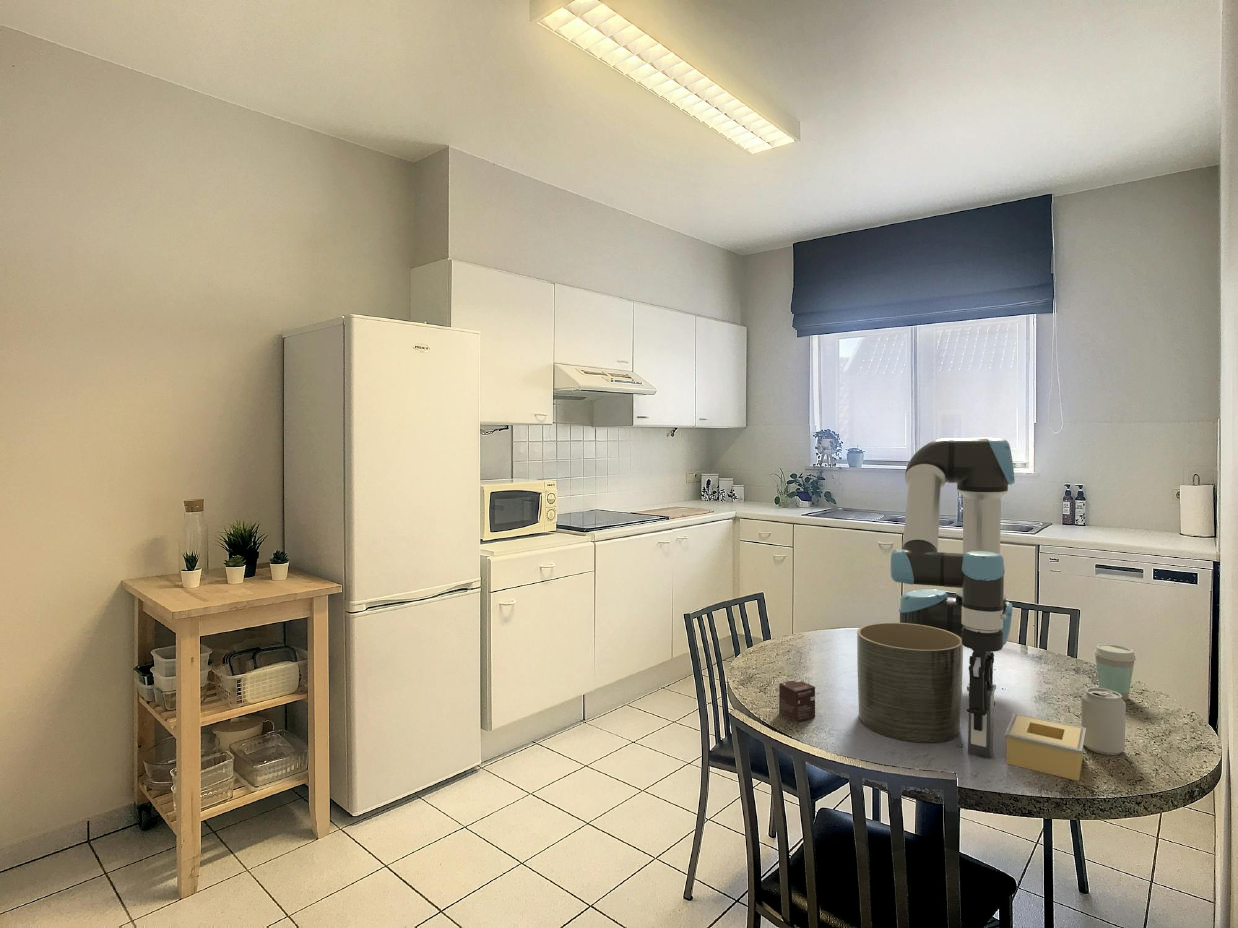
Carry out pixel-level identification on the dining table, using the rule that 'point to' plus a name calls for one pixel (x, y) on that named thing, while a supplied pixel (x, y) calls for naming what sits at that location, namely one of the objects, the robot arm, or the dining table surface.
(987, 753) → the wedge pin
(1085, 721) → the can
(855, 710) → the dining table surface
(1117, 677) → the coffee cup
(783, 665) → the dining table surface
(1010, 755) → the tan hollow block
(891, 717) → the planter
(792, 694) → the box
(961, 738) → the dining table surface
